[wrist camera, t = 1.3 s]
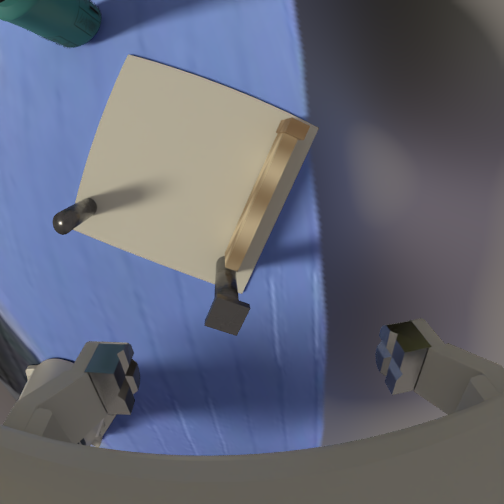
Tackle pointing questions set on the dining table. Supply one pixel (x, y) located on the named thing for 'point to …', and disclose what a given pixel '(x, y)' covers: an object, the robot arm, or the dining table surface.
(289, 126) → the gate
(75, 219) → the post
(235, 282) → the gate post
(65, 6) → the beverage bottle
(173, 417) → the dining table surface
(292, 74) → the dining table surface
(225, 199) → the mat
